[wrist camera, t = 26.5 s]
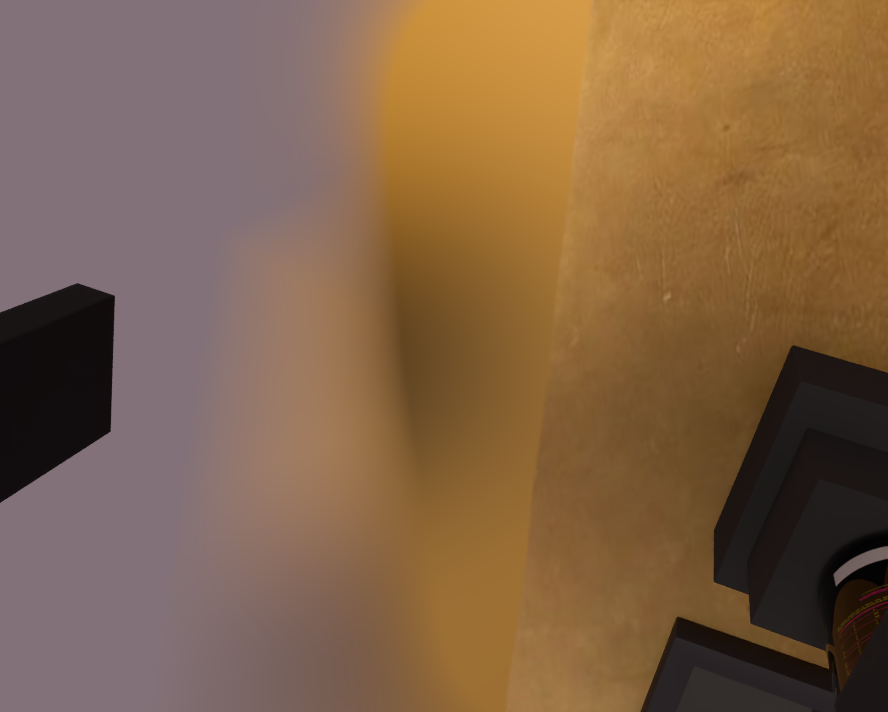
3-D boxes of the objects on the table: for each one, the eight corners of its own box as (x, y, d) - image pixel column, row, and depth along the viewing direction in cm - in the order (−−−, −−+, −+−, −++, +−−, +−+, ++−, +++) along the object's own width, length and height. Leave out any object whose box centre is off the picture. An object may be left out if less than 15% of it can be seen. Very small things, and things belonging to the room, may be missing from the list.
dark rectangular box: (713, 530, 47) (713, 582, 42) (792, 344, 42) (800, 381, 37) (933, 606, 44) (956, 669, 40) (1044, 418, 39) (1085, 467, 35)
